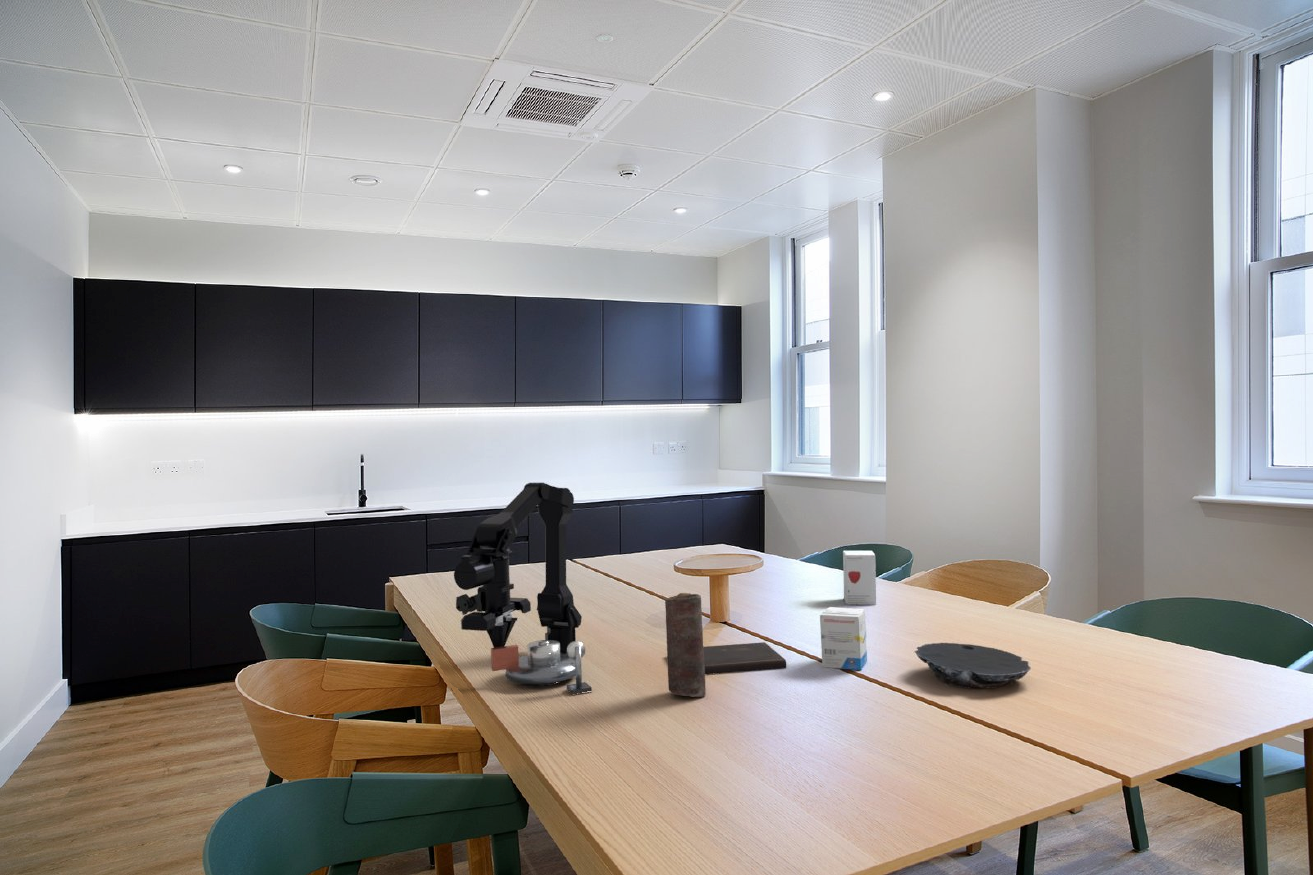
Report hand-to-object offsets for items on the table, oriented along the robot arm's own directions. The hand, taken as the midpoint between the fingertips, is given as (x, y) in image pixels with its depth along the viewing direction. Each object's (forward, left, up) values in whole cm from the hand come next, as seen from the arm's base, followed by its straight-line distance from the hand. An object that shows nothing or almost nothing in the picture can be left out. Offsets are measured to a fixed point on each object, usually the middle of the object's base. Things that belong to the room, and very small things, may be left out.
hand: (498, 653), depth 169 cm
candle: (-31, +28, -6) cm, 42 cm away
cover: (-9, +2, -3) cm, 10 cm away
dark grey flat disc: (-87, +47, -6) cm, 99 cm away
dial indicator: (-13, +13, -6) cm, 19 cm away
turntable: (-9, +3, -5) cm, 10 cm away
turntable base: (-9, +3, -6) cm, 11 cm away
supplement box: (-115, -24, -6) cm, 118 cm away
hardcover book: (-49, +11, -7) cm, 51 cm away
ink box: (-71, +26, -6) cm, 76 cm away
